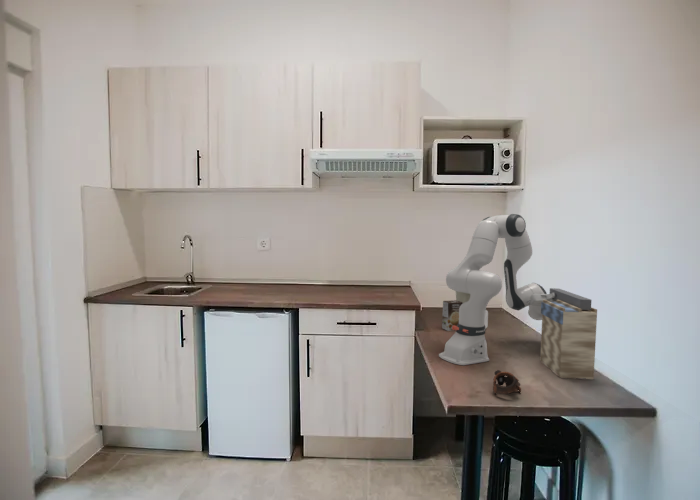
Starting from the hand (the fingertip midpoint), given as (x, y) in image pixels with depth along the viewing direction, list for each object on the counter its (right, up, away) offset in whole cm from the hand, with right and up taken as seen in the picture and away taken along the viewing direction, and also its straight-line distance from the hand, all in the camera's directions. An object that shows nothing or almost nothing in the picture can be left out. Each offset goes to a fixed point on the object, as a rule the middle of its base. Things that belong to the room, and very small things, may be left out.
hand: (561, 294), depth 158 cm
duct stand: (-4, -30, -10) cm, 32 cm away
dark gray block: (-1, -3, -6) cm, 7 cm away
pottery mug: (-38, -31, -31) cm, 58 cm away
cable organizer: (-21, -26, +53) cm, 63 cm away
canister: (-14, -24, +82) cm, 87 cm away
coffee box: (-35, -26, +48) cm, 65 cm away
